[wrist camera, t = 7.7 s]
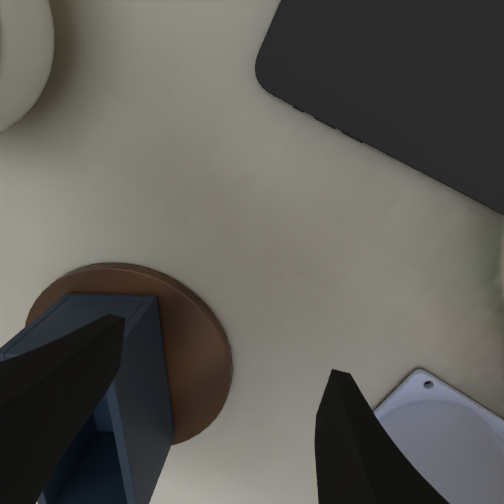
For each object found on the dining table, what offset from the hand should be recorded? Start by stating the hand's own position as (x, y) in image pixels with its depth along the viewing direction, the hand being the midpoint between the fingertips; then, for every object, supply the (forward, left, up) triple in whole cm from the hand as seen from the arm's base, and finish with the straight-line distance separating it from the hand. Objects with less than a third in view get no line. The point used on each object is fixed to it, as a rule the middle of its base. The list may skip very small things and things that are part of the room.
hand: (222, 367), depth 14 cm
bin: (+3, +11, -8) cm, 14 cm away
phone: (-2, -12, -9) cm, 15 cm away
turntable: (+3, +10, -9) cm, 14 cm away
